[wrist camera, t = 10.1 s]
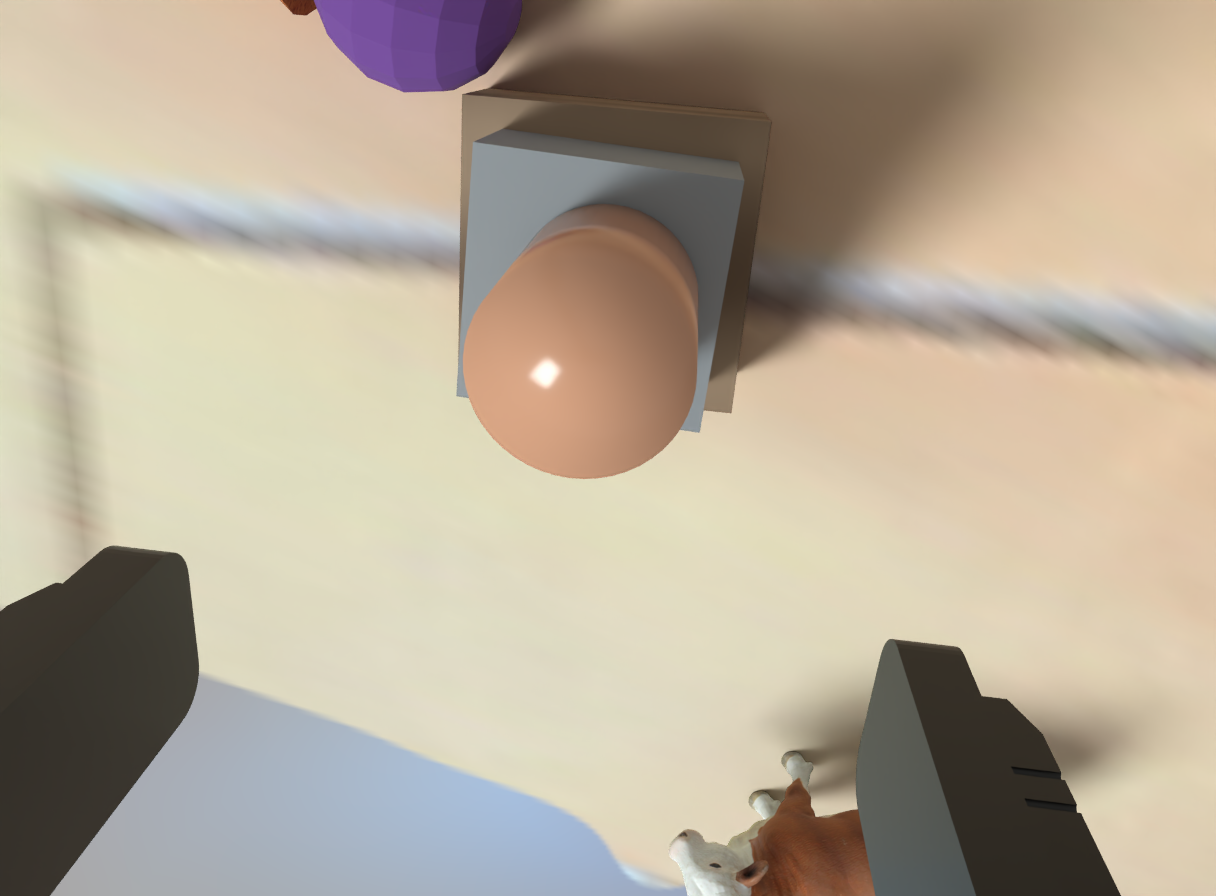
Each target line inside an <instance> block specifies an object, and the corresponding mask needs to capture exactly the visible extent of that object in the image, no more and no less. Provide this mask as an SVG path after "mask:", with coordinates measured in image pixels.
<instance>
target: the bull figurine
mask: <svg viewBox="0 0 1216 896" xmlns="http://www.w3.org/2000/svg"><path fill="white" fill-rule="evenodd" d="M781 761H782V764H783V766H784V767H785V769H786V770H787V772H788V773H789V774H790V775H791V776H792V780H793V782H792V784H791V785H790V786H789V787H788V788H787V790H786V793H785V799H784V801H783V802H782V803H781V804H780V801H779V800H773V799H772V798H770V796H769V794H768V793H766V792H764V791H759V792H755V793H753V794H752V795H751V796H750V797H749V805H750V806H751V807H752V808H753V809H754V810H756V811H757V812H758V813H760V814H761V815H762V817H763V819H764V820H761V821H758V822H756V823H754V824H753V825H752V826H751V827H750V829H749V830H747V831H745V832H743V833H741V834H739V835H738V836H734V837H732V838H731V840H730V842H729V843H728V845H727V846H725V845H721V844H718V843H716V842H712V843H707V842H705V841H704V839H703V837H702V836H701V835H700V833H699V832H697V831H695V830H691V829H687V830H684V831H682V832H681V833H680V834H679V835H678V836H677V837H676V838H675V839H674V840H673V841H672V842H671V844H670V847H669V852H668V853H669V856H670V857H671V858H672V859H673V860H674V861H676V862H677V863H678V864H679V866H680V869H681V871H682V873H683V877H684V882H685V887H686V891H687V895H688V896H875V891H874V886H873V881H872V876H871V871H870V866H869V861H868V856H867V851H866V846H865V841H864V836H863V831H862V826H861V821H860V816H859V811H858V809H857V810H850V811H846V812H842V813H838V814H833V815H826V816H821V817H815V813H814V811H813V809H812V807H811V797H810V794H809V791H808V782H809V779H810V774H811V772H812V770H813V764H812V763H811V762H805V761H804V759H803V758H802V756H801V754H799V753H797V752H788V753H786V754H785V755H784V756H783V757H782V760H781Z"/></svg>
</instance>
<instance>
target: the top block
mask: <svg viewBox="0 0 1216 896" xmlns="http://www.w3.org/2000/svg"><path fill="white" fill-rule="evenodd" d="M743 185H744V178H743V174H742V171H741V168H740V164H739V162H736V161H729V160H722V159H714V158H707V157H700V156H693V155H686V154H679V153H672V152H665V151H658V150H651V149H644V148H637V147H630V146H622V145H615V144H608V143H601V142H594V141H587V140H580V139H573V138H566V137H559V136H552V135H545V134H538V133H530V132H523V131H516V130H509V129H501V130H499V131H496V132H494V133H492V134H490V135H487V136H485V137H483V138H481V139H479V140H476V141H474V142H473V149H472V165H471V180H470V195H469V211H468V226H467V241H466V257H465V272H464V287H463V303H462V318H461V333H460V349H459V364H458V379H457V395H456V396H459V397H466V398H469V396H468V393H467V390H466V386H465V380H464V374H463V352H464V343H465V339H466V335H467V331H468V328H469V326H470V323H471V321H472V318H473V316H474V314H475V312H476V311H477V309H478V307H479V306H480V304H481V302H482V301H483V300H484V299H485V297H486V296H487V295H488V294H489V292H490V291H491V290H492V289H493V287H494V286H495V285H496V284H497V282H498V281H499V280H500V279H501V277H502V276H503V275H504V274H505V272H506V271H507V270H508V268H509V267H510V266H511V265H512V263H513V262H514V261H515V260H516V258H517V257H518V256H519V255H520V253H521V252H522V251H523V250H524V248H525V247H526V246H527V245H528V243H529V242H530V241H531V240H532V238H533V237H534V236H535V235H536V233H537V232H538V231H539V230H540V229H542V228H543V227H544V226H545V225H546V224H547V223H549V222H550V221H551V220H553V219H554V218H556V217H557V216H559V215H561V214H563V213H565V212H567V211H570V210H573V209H575V208H578V207H583V206H587V205H594V204H615V205H621V206H626V207H630V208H633V209H636V210H639V211H641V212H643V213H645V214H647V215H649V216H651V217H653V218H654V219H656V220H657V221H659V222H660V223H662V224H663V225H664V226H665V227H666V228H668V229H669V230H670V231H671V232H672V233H673V234H674V235H675V236H676V238H677V239H678V240H679V241H680V243H681V244H682V245H683V247H684V248H685V250H686V251H687V254H688V256H689V258H690V260H691V262H692V264H693V267H694V270H695V273H696V278H697V283H698V293H699V312H698V360H697V382H696V390H695V395H694V399H693V403H692V406H691V408H690V411H689V414H688V416H687V418H686V420H685V422H684V423H683V425H682V427H681V429H680V430H685V431H692V432H698V433H699V432H700V427H701V421H702V416H703V410H704V404H705V399H706V393H707V388H708V382H709V376H710V371H711V365H712V359H713V354H714V348H715V343H716V337H717V331H718V326H719V320H720V315H721V309H722V303H723V298H724V292H725V286H726V281H727V275H728V270H729V264H730V258H731V253H732V247H733V242H734V236H735V230H736V225H737V219H738V213H739V208H740V202H741V197H742V191H743Z"/></svg>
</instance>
